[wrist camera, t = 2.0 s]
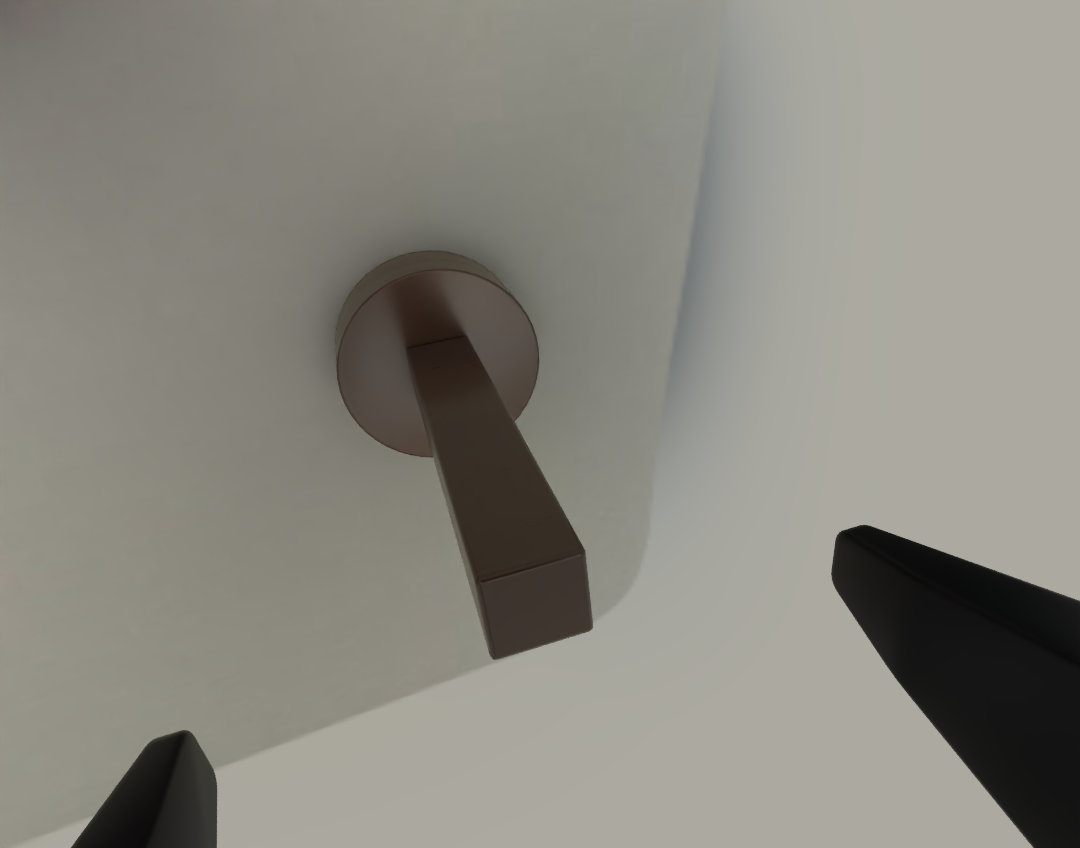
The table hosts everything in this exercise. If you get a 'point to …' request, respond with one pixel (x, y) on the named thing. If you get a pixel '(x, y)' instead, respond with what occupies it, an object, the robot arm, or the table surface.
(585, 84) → the table surface
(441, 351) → the lever handle
